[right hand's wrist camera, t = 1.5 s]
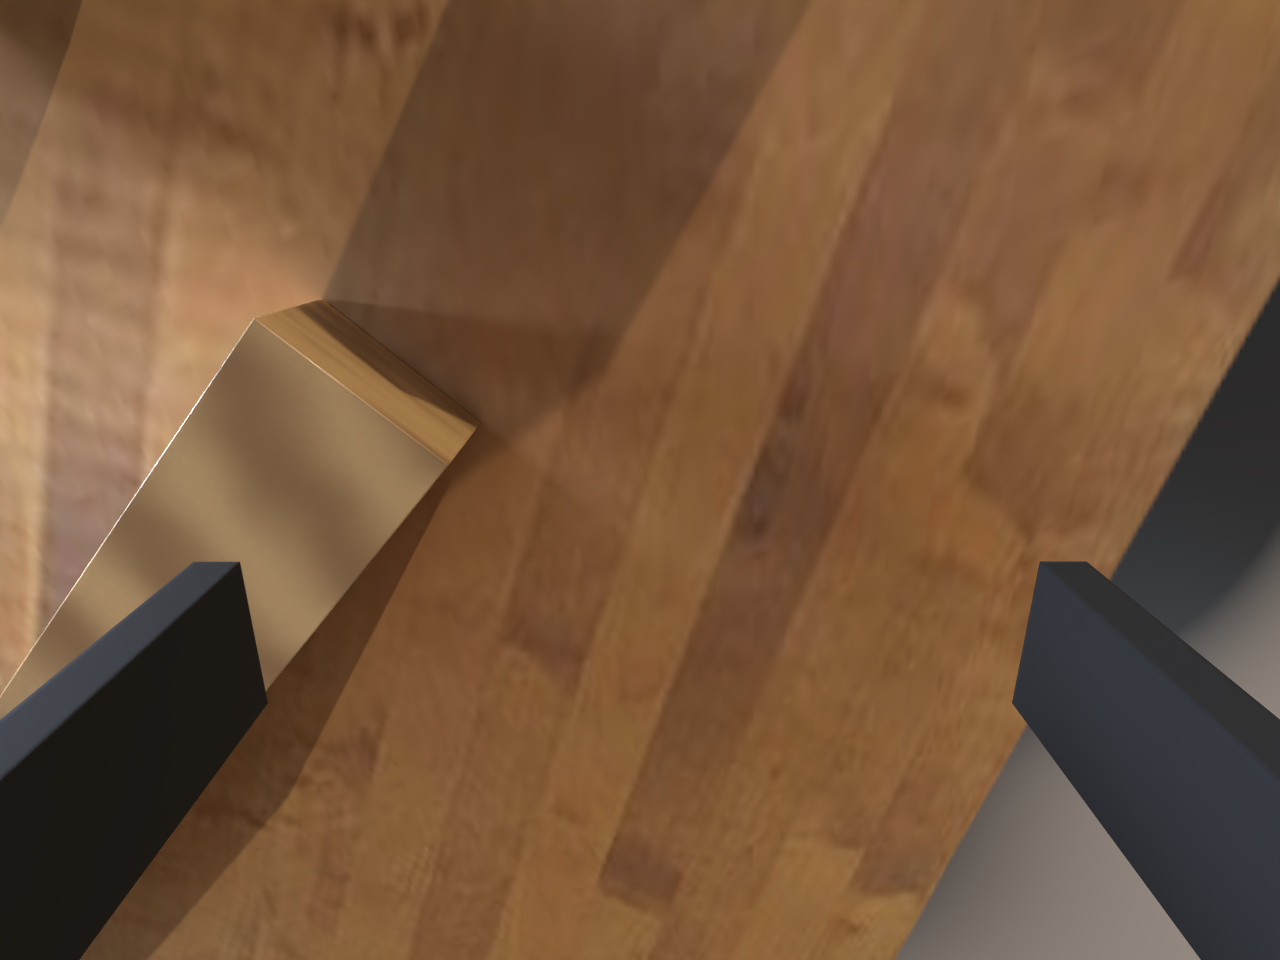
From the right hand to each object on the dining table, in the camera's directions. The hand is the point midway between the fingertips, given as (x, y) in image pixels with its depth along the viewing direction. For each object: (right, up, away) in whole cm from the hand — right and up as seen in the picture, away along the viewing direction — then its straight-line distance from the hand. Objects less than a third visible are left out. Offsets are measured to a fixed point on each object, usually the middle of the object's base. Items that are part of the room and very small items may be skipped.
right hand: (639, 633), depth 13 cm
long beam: (-38, -21, +35) cm, 56 cm away
